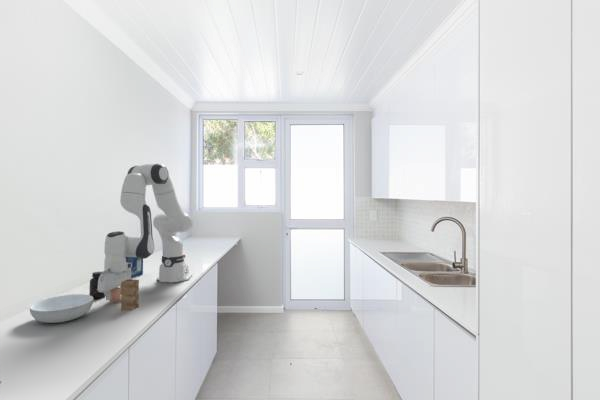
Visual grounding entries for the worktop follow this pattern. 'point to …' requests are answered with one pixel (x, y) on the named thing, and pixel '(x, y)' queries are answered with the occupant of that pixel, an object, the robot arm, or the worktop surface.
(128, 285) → the block top
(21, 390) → the worktop surface
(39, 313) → the serving bowl
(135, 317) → the worktop surface
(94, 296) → the supplement bottle
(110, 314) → the worktop surface
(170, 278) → the robot arm
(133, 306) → the block bottom
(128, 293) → the block middle
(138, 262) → the protein box
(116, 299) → the cylinder
